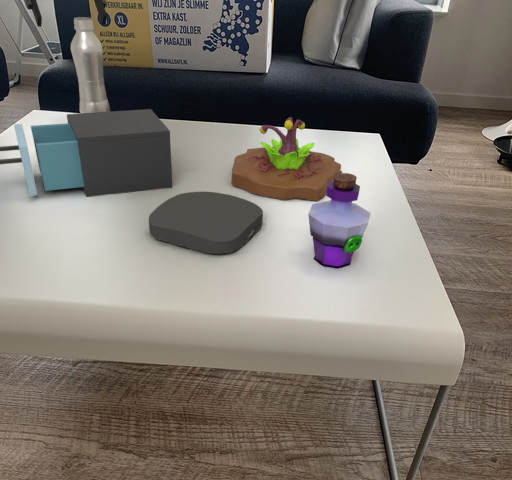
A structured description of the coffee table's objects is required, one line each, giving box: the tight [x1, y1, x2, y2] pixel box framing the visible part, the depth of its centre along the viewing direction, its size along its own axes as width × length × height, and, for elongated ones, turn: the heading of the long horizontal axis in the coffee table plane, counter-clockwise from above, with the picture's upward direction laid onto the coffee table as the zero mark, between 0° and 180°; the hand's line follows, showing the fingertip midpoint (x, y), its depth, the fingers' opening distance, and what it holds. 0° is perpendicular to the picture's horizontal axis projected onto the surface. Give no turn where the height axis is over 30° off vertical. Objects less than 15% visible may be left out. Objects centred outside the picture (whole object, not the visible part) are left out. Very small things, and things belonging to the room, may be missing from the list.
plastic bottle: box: [70, 16, 111, 114], centre depth 114 cm, size 6×7×20 cm
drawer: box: [0, 122, 84, 197], centre depth 90 cm, size 18×11×8 cm, turn 112°
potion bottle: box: [307, 172, 371, 270], centre depth 73 cm, size 9×9×12 cm
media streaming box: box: [148, 191, 264, 255], centre depth 82 cm, size 15×15×3 cm
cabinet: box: [66, 108, 174, 197], centre depth 93 cm, size 15×13×10 cm
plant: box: [231, 116, 343, 202], centre depth 96 cm, size 20×20×11 cm
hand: (72, 21), depth 115 cm, fingers open, 13 cm apart
